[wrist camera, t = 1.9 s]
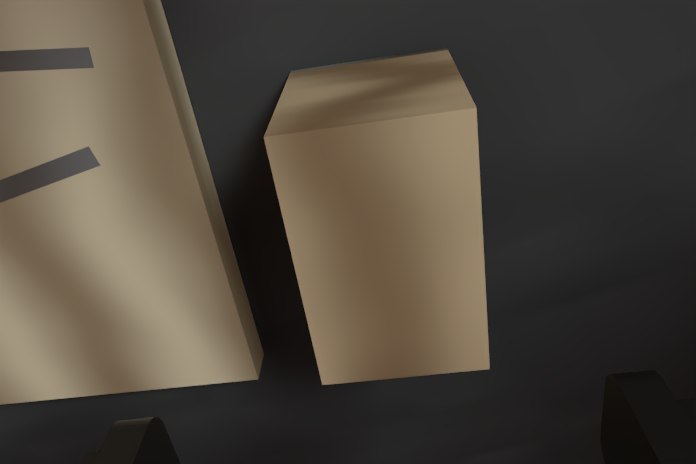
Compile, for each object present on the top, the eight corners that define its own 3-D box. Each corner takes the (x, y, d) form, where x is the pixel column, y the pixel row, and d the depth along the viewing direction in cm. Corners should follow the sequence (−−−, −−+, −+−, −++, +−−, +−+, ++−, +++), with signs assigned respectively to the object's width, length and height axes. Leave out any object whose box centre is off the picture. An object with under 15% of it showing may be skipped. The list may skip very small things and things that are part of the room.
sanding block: (446, 46, 19) (476, 107, 14) (461, 259, 23) (490, 369, 18) (291, 69, 19) (263, 137, 14) (332, 273, 23) (322, 384, 18)
